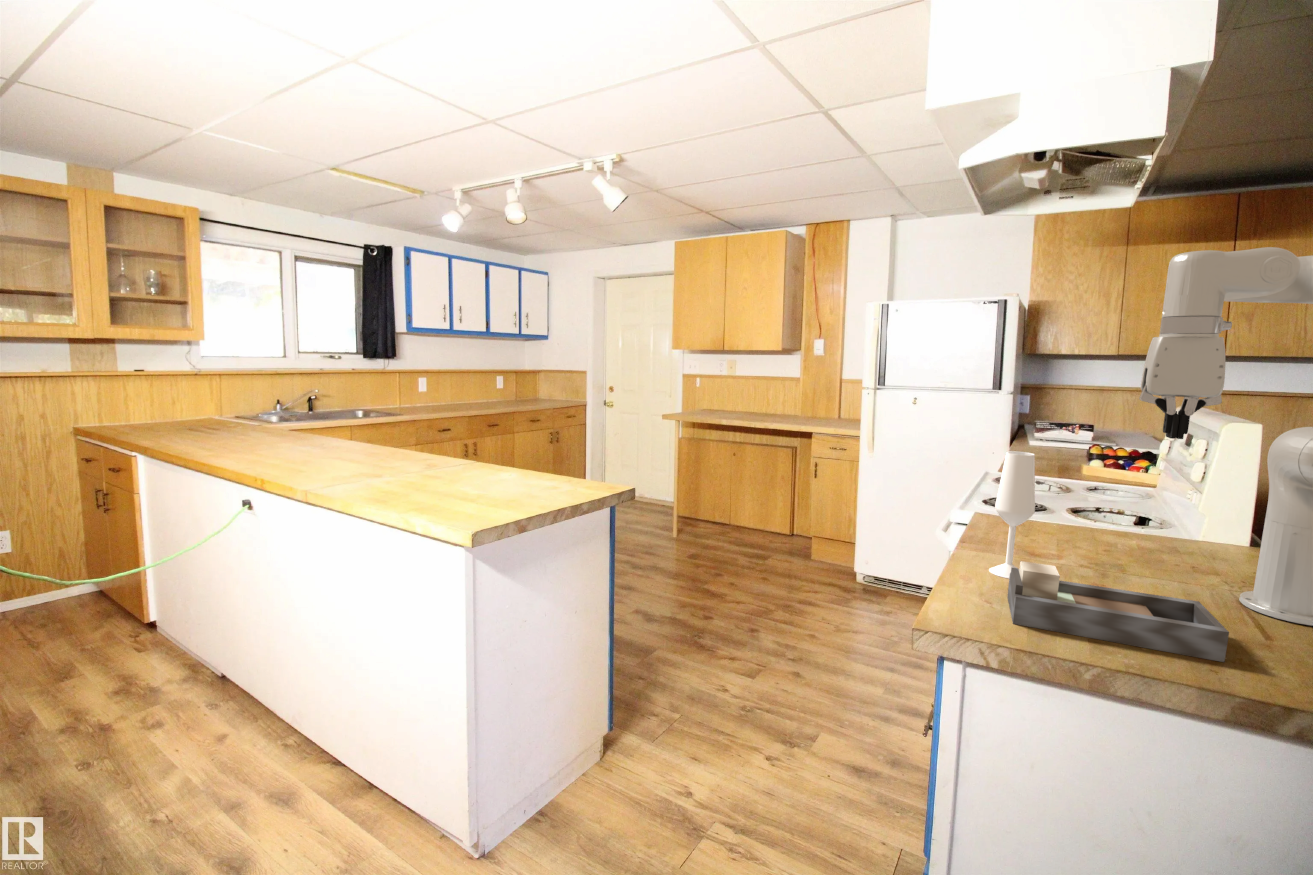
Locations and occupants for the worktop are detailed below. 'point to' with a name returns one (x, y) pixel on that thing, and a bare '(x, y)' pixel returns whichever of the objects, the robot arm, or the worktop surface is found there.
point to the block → (1039, 580)
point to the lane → (1122, 618)
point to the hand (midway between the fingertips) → (1174, 437)
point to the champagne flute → (1015, 500)
